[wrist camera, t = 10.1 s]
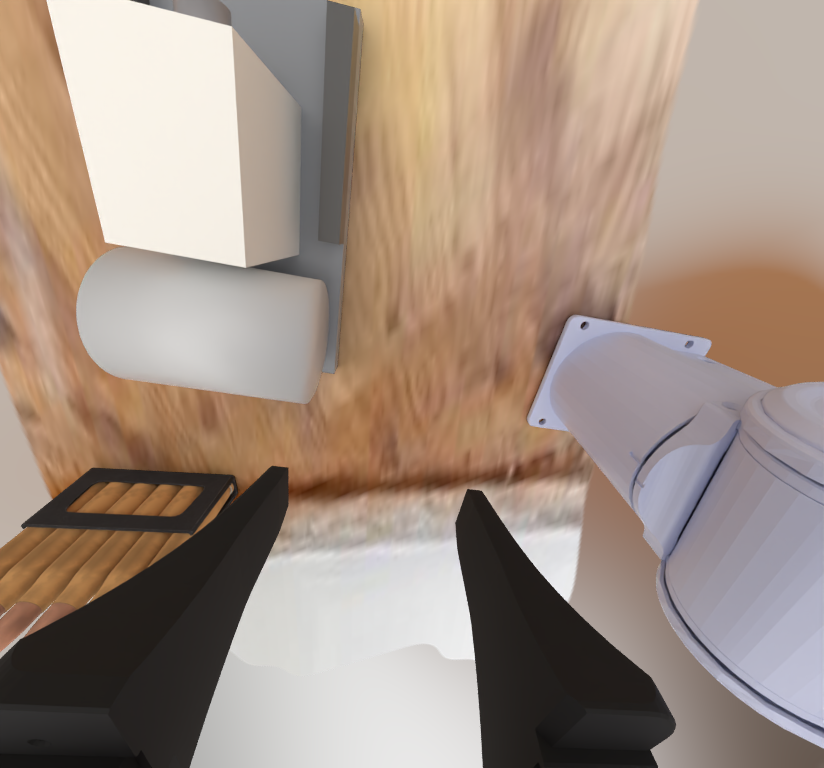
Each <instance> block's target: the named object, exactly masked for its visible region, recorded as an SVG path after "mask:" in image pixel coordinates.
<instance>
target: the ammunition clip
mask: <svg viewBox="0 0 824 768" xmlns="http://www.w3.org/2000/svg"><path fill="white" fill-rule="evenodd" d="M237 494H238V491H237V486H236V482H235V478H234V477H233V475H222V474H203V473H183V472H164V471H144V470H125V469H105V468H91V469H90V470H89V471H88V472H86V473H85V474H84V475H83V476H81V477H80V478H79V479H78V480H76V481H75V482H74V483H73V484H71V485H70V486H69V487H68V488H66V489H65V490H64V491H63V492H62V493H60V494H59V495H58V496H57V497H55V498H54V499H53V500H52V501H50V502H49V503H48V504H47V505H45V506H44V507H43V508H42V509H40V510H39V511H38V512H37V513H35V514H34V515H33V516H32V517H30V518H29V519H28V520H27V521H25V523H23V524H22V525H21V527H22V528H23V529H24V530H23V531H22V532H21V533H19V534H18V535H17V536H16V537H15V538H13V539H12V540H11V541H9V542H8V543H7V544H6V545H4V546H3V547H2V548H1V549H0V616H1V615H2V614H3V613H5V612H6V611H7V610H9V609H10V608H11V607H12V606H13V605H14V604H15V603H16V604H15V605H14V606H13V607H12V608H11V609H10V610H9V611H8V612H7V613H6V614H5V615H4V616H3V617H2V618H1V619H0V652H1V651H2V650H3V649H4V648H5V647H7V646H8V645H9V644H10V643H11V642H12V641H13V640H14V639H15V638H17V637H18V636H19V635H20V634H21V633H22V632H23V631H24V630H25V629H26V628H27V627H28V626H29V625H30V624H31V623H32V622H33V621H34V620H35V619H36V618H37V617H38V616H39V615H40V614H41V613H42V612H44V611H45V610H46V609H47V607H49V606H50V605H51V604H52V605H51V606H50V607H49V609H48V610H47V611H46V612H45V613H44V614H43V615H42V616H41V617H40V618H39V619H38V621H37V622H36V623H35V624H34V625H33V626H32V628H31V629H30V630H29V631H28V633H27V634H26V635H25V637H26V636H28V635H30V634H32V633H34V632H36V631H38V630H40V629H41V628H43V627H45V626H47V625H49V624H51V623H53V622H55V621H57V620H58V619H60V618H62V617H64V616H66V615H68V614H70V613H72V612H74V611H75V610H77V609H79V608H81V607H83V606H85V605H86V604H87V602H88V601H89V600H90V599H91V598H92V597H93V596H94V595H95V596H94V597H93V598H92V600H91V601H90V602H92V601H93V600H95V599H97V598H98V597H100V596H102V595H103V594H105V593H107V592H108V591H110V590H112V589H114V588H115V587H117V586H119V585H120V584H122V583H124V582H125V581H127V580H129V579H130V578H132V577H133V576H135V575H137V574H138V573H140V572H141V571H143V570H144V569H146V568H148V567H149V566H151V565H152V564H153V563H155V562H156V561H158V560H159V559H161V558H162V557H164V556H165V555H167V554H168V553H170V552H171V551H173V550H174V549H175V548H177V547H178V546H180V545H181V544H182V543H184V542H185V541H186V540H188V539H189V538H190V537H192V536H193V535H194V534H196V533H197V532H198V531H200V530H201V529H202V528H203V527H205V526H206V525H207V524H208V523H209V522H211V521H212V520H213V519H214V518H215V517H217V516H218V515H219V514H220V513H222V512H223V511H224V510H225V509H226V508H227V507H228V506H229V505H230V504H231V502H232V501H233V499H234V498H235V496H236V495H237ZM26 527H27V528H26ZM25 528H26V529H25ZM90 602H89V603H90Z"/></svg>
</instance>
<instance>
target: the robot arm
mask: <svg viewBox="0 0 824 768" xmlns="http://www.w3.org/2000/svg"><path fill="white" fill-rule="evenodd" d="M583 322H586V325H585V326H584V327H583V328H580V326H581V324H582V323H583ZM686 342H688V343H687V345H685V344H686ZM710 347H711V341H710V340H708V339H706V338H702V337H697V336H691V335H685V334H680V333H675V332H669V331H664V330H658V329H653V328H648V327H642V326H637V325H631V324H626V323H620V322H615V321H609V320H604V319H598V318H593V317H587V316H582V315H573V316H571V317H570V318H568V320H567V322H566V324H565V326H564V329H563V331H562V334H561V336H560V339H559V341H558V343H557V346H556V348H555V351H554V353H553V356H552V358H551V360H550V363H549V365H548V368H547V370H546V373H545V375H544V378H543V380H542V382H541V385H540V387H539V390H538V392H537V395H536V397H535V399H534V402H533V404H532V407H531V409H530V412H529V414H528V416H527V422H528V423H529V424H530V425H531V426H534V427H541V428H548V429H556V430H563V431H570V433H571V434H572V435H573V436H574V437H575V439H576V440H577V441H578V442H579V444H580V445H581V446H582V447H583V449H584V450H585V451H586V452H587V454H588V455H589V456H590V457H591V458H592V460H593V461H594V462H595V463H596V465H597V466H598V467H599V468H600V470H601V471H602V472H603V473H604V474H605V476H606V477H607V478H608V479H609V481H610V482H611V483H612V484H613V486H614V487H615V488H616V489H617V491H619V493H620V494H621V495H622V497H623V498H624V499H625V500H626V502H627V503H628V504H629V505H630V506H631V508H632V509H633V510H634V512H635V513H636V514H637V515H638V516H639V518H640V519H641V520H642V522H643V523H644V527H645V530H644V534H643V537H644V539H645V540H646V541H647V542H648V544H649V545H650V546H651V547H652V549H653V550H654V551H655V553H656V554H657V555H658V556H659V558H660V559H661V560H662V561H661V563H660V565H659V567H658V570H657V574H656V589H657V593H658V597H659V601H660V603H661V606H662V609H663V611H664V613H665V615H666V617H667V619H668V620H669V622H670V624H671V626H672V628H673V629H674V630H675V632H676V634H677V635H678V636H679V638H680V639H681V640H682V642H683V643H684V645H685V646H686V647H687V648H688V650H689V651H690V652H691V653H692V654H693V655H694V657H695V658H696V659H697V660H698V661H699V662H700V663H701V664H702V665H703V666H704V667H705V668H706V669H707V670H708V671H709V672H710V673H711V674H712V675H713V676H714V677H715V678H716V679H717V680H718V681H719V682H720V683H721V684H722V685H724V686H725V687H726V688H727V689H728V690H729V691H731V692H732V693H733V694H734V695H735V696H736V697H738V698H739V699H741V700H742V701H743V702H745V703H746V704H747V705H749V706H750V707H751V708H753V709H754V710H755V711H757V712H758V713H760V714H761V715H763V716H764V717H766V718H768V719H769V720H771V721H772V722H774V723H776V724H777V725H779V726H780V727H782V728H784V729H786V730H788V731H790V732H792V733H794V734H796V735H798V736H800V737H802V738H804V739H806V740H808V741H810V742H812V743H814V744H816V745H818V746H820V747H822V748H824V382H807V383H798V384H794V385H789V386H786V387H778V388H777V387H775V386H772V385H770V384H768V383H765V382H763V381H761V380H758V379H756V378H754V377H751V376H749V375H747V374H744V373H742V372H740V371H737V370H735V369H732V368H730V367H728V366H726V365H723V364H721V363H719V362H716V361H714V360H712V359H709V358H707V357H705V355H706V354H707V352H708V350H709V349H710ZM541 419H544V420H543V421H541V422H539V420H541ZM287 508H288V468H286V467H277V466H271V467H270V468H269V469H268V470H267V471H266V472H265V473H264V474H263V475H262V476H261V477H260V478H259V479H258V480H257V481H256V482H255V483H254V484H252V485H251V486H250V487H249V488H248V489H247V490H246V491H245V492H244V493H243V494H242V495H241V496H240V497H238V498H237V499H236V500H235V501H234V502H233V503H232V504H231V505H230V506H228V507H227V508H226V509H225V510H224V511H223V512H222V513H220V514H219V515H218V516H217V517H215V518H214V519H213V520H212V521H211V522H209V523H208V524H207V525H206V526H205V527H203V528H202V529H201V530H200V531H198V532H197V533H196V534H194V535H193V536H192V537H190V538H189V539H188V540H186V541H185V542H184V543H182V544H181V545H180V546H178V547H177V548H175V549H174V550H173V551H171V552H170V553H168V554H167V555H165V556H164V557H162V558H161V559H159V560H158V561H156V562H155V563H153V564H152V565H151V566H149V567H148V568H146V569H144V570H143V571H141V572H140V573H138V574H137V575H135V576H133V577H132V578H130V579H129V580H127V581H125V582H124V583H122V584H120V585H119V586H117V587H115V588H114V589H112V590H110V591H108V592H107V593H105V594H103V595H102V596H100V597H98V598H97V599H95V600H93V601H92V602H90V603H88V604H86V605H85V606H83V607H81V608H79V609H77V610H75V611H74V612H72V613H70V614H68V615H66V616H64V617H62V618H60V619H58V620H57V621H55V622H53V623H51V624H49V625H47V626H45V627H43V628H41V629H40V630H38V631H36V632H34V633H32V634H30V635H28V636H26V637H24V638H22V639H20V640H19V641H18V642H17V643H16V644H15V645H14V646H13V647H12V648H11V649H10V650H9V651H8V652H7V653H6V654H5V655H4V656H3V657H2V658H1V659H0V768H189V767H190V764H191V761H192V758H193V755H194V751H195V749H196V746H197V742H198V739H199V736H200V733H201V730H202V727H203V724H204V721H205V718H206V715H207V712H208V709H209V706H210V703H211V700H212V697H213V694H214V691H215V688H216V686H217V683H218V680H219V677H220V674H221V671H222V668H223V665H224V663H225V660H226V657H227V654H228V651H229V649H230V646H231V643H232V640H233V637H234V635H235V632H236V629H237V627H238V624H239V621H240V619H241V616H242V613H243V611H244V608H245V605H246V603H247V601H248V598H249V596H250V594H251V591H252V589H253V587H254V585H255V583H256V581H257V579H258V576H259V574H260V572H261V570H262V568H263V566H264V564H265V562H266V559H267V557H268V555H269V553H270V551H271V549H272V547H273V544H274V542H275V540H276V538H277V536H278V534H279V531H280V529H281V526H282V523H283V520H284V517H285V514H286V511H287ZM455 524H456V538H457V549H458V555H459V560H460V565H461V570H462V576H463V581H464V586H465V591H466V596H467V601H468V606H469V612H470V618H471V624H472V634H473V643H474V652H475V663H476V673H477V683H478V697H479V710H480V724H481V740H482V759H483V768H658V765H657V763H656V761H655V759H654V757H653V755H652V753H651V751H650V749H652V748H653V747H655V746H656V745H658V744H659V743H661V742H662V741H663V740H665V739H667V738H668V737H669V736H670V735H671V734H673V732H674V730H675V727H676V723H675V719H674V718H673V716H672V714H671V712H670V710H669V708H668V707H667V705H666V703H665V701H664V699H663V698H662V696H661V694H660V692H659V690H658V689H657V687H656V685H655V683H654V682H653V680H652V678H651V677H650V676H649V675H648V674H646V673H645V672H644V671H643V670H642V669H640V668H639V667H638V666H637V665H635V664H634V663H633V662H632V661H631V660H629V659H628V658H627V657H626V656H625V655H623V654H622V653H621V652H620V651H619V650H617V649H616V648H615V647H614V646H613V645H612V644H610V643H609V642H608V641H607V640H606V639H605V638H604V637H603V636H602V635H601V634H599V633H598V632H597V631H596V630H595V629H594V628H593V627H592V626H591V625H590V624H589V623H588V622H586V621H585V620H584V619H583V618H582V617H581V616H580V615H579V614H578V613H577V612H576V611H575V610H574V609H573V608H572V607H571V606H570V605H569V604H568V603H567V602H566V601H565V600H564V599H563V597H562V596H561V595H560V594H559V593H558V592H557V591H556V590H555V589H554V588H553V587H552V586H551V584H550V583H549V582H548V581H547V580H546V579H545V578H544V576H543V575H542V574H541V573H540V572H539V571H538V569H537V568H536V567H535V566H534V565H533V563H532V562H531V561H530V560H529V558H528V557H527V556H526V554H525V553H524V552H523V551H522V549H521V548H520V547H519V545H518V544H517V542H516V541H515V540H514V538H513V537H512V535H511V534H510V533H509V531H508V530H507V528H506V527H505V525H504V524H503V522H502V521H501V519H500V518H499V516H498V515H497V513H496V512H495V510H494V509H493V507H492V506H491V504H490V503H489V501H488V500H487V498H486V496H485V495H484V493H483V492H482V491H479V490H470V489H467V492H466V494H465V497H464V500H463V503H462V506H461V509H460V512H459V514H458V517H457V520H456V523H455Z"/></svg>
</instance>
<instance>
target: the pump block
mask: <svg viewBox="0 0 824 768" xmlns="http://www.w3.org/2000/svg"><path fill="white" fill-rule="evenodd" d="M172 1H173V10H174V12H173V11H169V10H165V9H161V8H157V7H154V6H150V5H146V4H142V3H138V2H134V1H130V0H47V4H48V8H49V12H50V16H51V21H52V25H53V29H54V33H55V37H56V41H57V45H58V49H59V53H60V58H61V62H62V66H63V70H64V74H65V78H66V82H67V86H68V91H69V95H70V99H71V103H72V107H73V111H74V115H75V119H76V123H77V128H78V132H79V136H80V140H81V144H82V148H83V152H84V156H85V160H86V165H87V169H88V173H89V177H90V181H91V185H92V189H93V193H94V197H95V202H96V206H97V210H98V214H99V218H100V222H101V226H102V230H103V234H104V239H105V242H106V243H112V244H117V245H123V246H128V247H134V248H139V249H145V250H150V251H156V252H161V253H167V254H173V255H178V256H184V257H189V258H195V259H200V260H206V261H211V262H217V263H222V264H228V265H233V266H239V267H244V268H247V267H251V266H255V265H259V264H263V263H267V262H271V261H275V260H280V259H284V258H288V257H292V256H296V255H299V236H300V169H301V107H300V105H299V104H298V103H297V102H296V101H295V100H294V98H293V97H292V96H291V95H290V94H289V93H288V91H287V90H286V89H285V88H284V87H283V86H282V84H281V83H280V82H279V81H278V80H277V79H276V77H275V76H274V75H273V74H272V73H271V72H270V70H269V69H268V68H267V67H266V66H265V65H264V63H263V62H262V61H261V60H260V59H259V58H258V56H257V55H256V54H255V53H254V52H253V51H252V49H251V48H250V47H249V46H248V45H247V44H246V42H245V41H244V40H243V39H242V38H241V37H240V35H239V34H238V33H237V32H236V31H235V30H234V28H233V27H232V19H231V12H230V10H229V9H228V8H227V7H226V6H225V5H224V4H223V3H222V2H221V1H219V0H172Z"/></svg>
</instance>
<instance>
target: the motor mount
mask: <svg viewBox="0 0 824 768" xmlns="http://www.w3.org/2000/svg"><path fill="white" fill-rule="evenodd" d="M130 1H134V2H138V3H142V4H146V5H150V6H154V7H157V8H161V9H165V10H169V11H173V12H174V10H173V1H172V0H130ZM219 1H221V2H222V3H223V4H224V5H225V6H226V7H227V8H228V9H229V10H230V12H231V19H232V27H233V28H234V30H235V31H236V32H237V33H238V34H239V35H240V37H241V38H242V39H243V40H244V41H245V42H246V44H247V45H248V46H249V47H250V48H251V49H252V51H253V52H254V53H255V54H256V55H257V56H258V58H259V59H260V60H261V61H262V62H263V63H264V65H265V66H266V67H267V68H268V69H269V70H270V72H271V73H272V74H273V75H274V76H275V77H276V79H277V80H278V81H279V82H280V83H281V84H282V86H283V87H284V88H285V89H286V90H287V91H288V93H289V94H290V95H291V96H292V97H293V98H294V100H295V101H296V102H297V103H298V104H299V105H300V107H301V169H300V236H299V255H296V256H292V257H288V258H284V259H280V260H275V261H271V262H267V263H263V264H259V265H255V266H251V267H247V268H244V267H239V266H233V265H228V264H222V263H217V262H211V261H206V260H200V259H195V258H189V257H184V256H178V255H173V254H167V253H161V252H156V251H150V250H145V249H139V248H134V247H128V246H125V247H119V248H115V249H113V250H110V251H108V252H106V253H105V254H103V255H102V256H100V257H99V258H98V259H97V260H96V261H95V262H94V263H93V264H92V265H91V266H90V268H89V270H88V271H87V273H86V274H85V276H84V278H83V281H82V283H81V286H80V289H79V293H78V298H77V306H76V316H77V325H78V330H79V334H80V337H81V340H82V342H83V345H84V347H85V348H86V350H87V352H88V354H89V355H90V356H91V358H92V359H93V360H94V362H95V363H96V364H97V365H98V366H99V367H100V368H102V369H103V370H104V371H106V372H107V373H109V374H111V375H113V376H116V377H119V378H122V379H129V380H136V381H143V382H150V383H157V384H165V385H172V386H179V387H186V388H193V389H200V390H208V391H215V392H222V393H229V394H236V395H244V396H251V397H258V398H265V399H272V400H279V401H287V402H294V403H301V404H307V403H309V402H310V400H311V399H312V398H313V396H314V394H315V392H316V389H317V387H318V384H319V381H320V378H321V374H322V372H325V373H332V374H335V371H336V369H337V367H338V354H339V341H340V328H341V315H342V302H343V288H344V275H345V262H346V249H347V236H348V222H349V209H350V196H351V183H352V170H353V156H354V143H355V130H356V117H357V104H358V91H359V77H360V64H361V51H362V38H363V25H364V24H363V19H362V14H361V10H360V9H358V8H354V7H351V6H347V5H343V4H339V3H336V2H332V1H328V0H219Z"/></svg>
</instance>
